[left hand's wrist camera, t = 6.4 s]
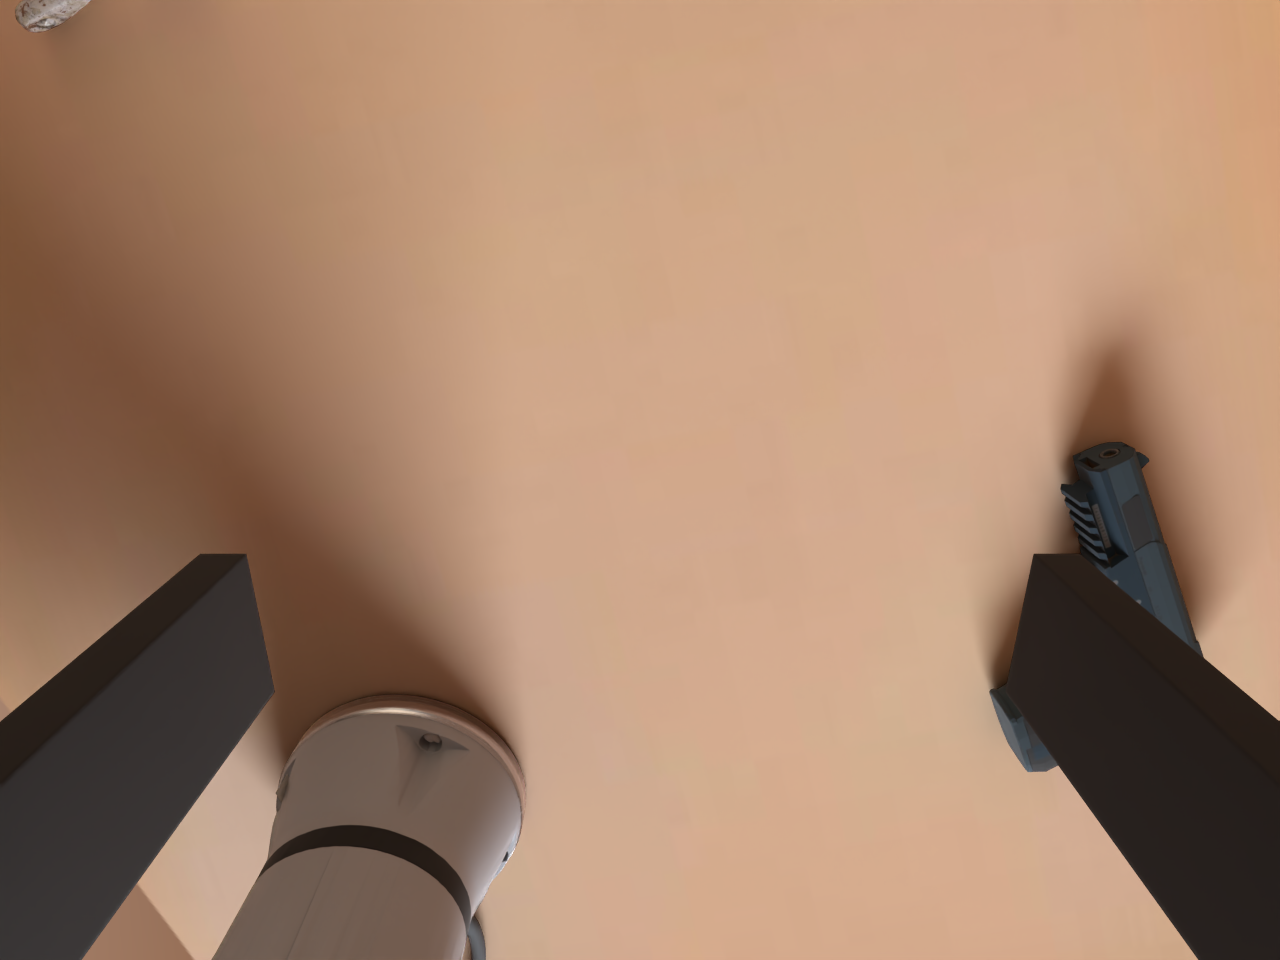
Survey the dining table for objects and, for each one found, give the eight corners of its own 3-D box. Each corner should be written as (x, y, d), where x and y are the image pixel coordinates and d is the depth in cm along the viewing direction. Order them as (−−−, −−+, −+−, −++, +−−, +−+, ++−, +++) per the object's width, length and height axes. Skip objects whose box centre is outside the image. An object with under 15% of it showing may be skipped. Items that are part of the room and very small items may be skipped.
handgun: (911, 524, 43) (1122, 429, 41) (1009, 749, 48) (1201, 675, 46) (931, 548, 40) (1160, 448, 38) (1033, 785, 45) (1239, 708, 43)
